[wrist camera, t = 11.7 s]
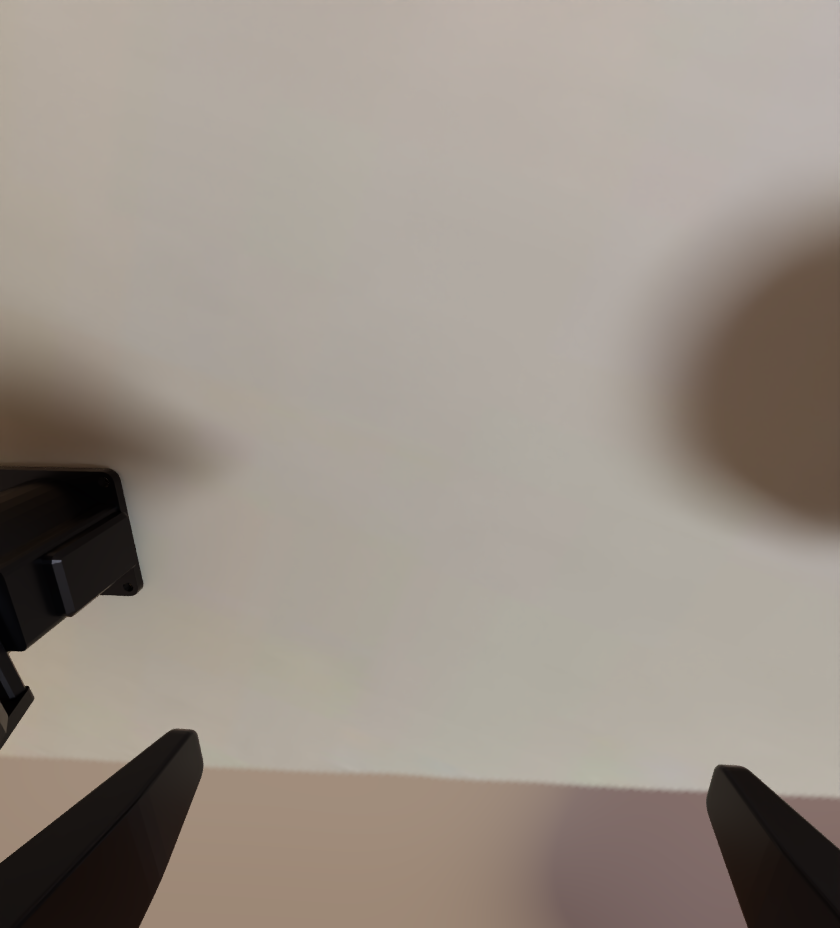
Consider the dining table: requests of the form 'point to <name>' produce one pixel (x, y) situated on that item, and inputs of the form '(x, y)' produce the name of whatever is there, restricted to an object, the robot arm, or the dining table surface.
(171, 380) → the dining table surface
